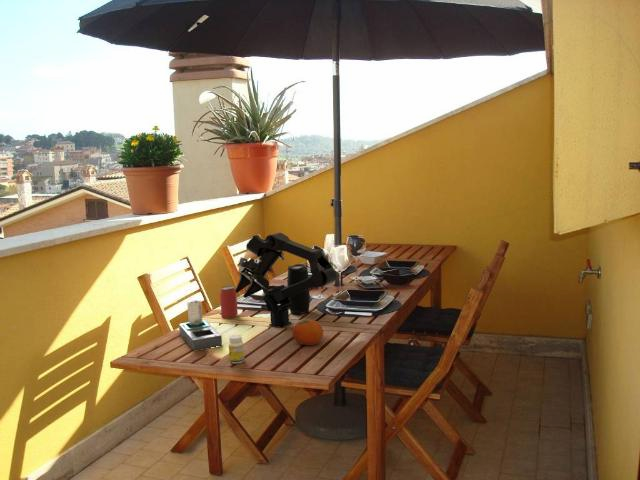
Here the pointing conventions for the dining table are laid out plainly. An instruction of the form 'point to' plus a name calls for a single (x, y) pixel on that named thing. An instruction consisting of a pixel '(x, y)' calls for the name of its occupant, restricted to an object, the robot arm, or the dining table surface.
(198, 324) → the steel sleeve
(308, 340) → the fruit
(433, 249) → the dining table surface
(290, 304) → the robot arm
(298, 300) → the portable speaker
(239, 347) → the supplement bottle
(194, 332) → the jig plate
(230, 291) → the beer can
